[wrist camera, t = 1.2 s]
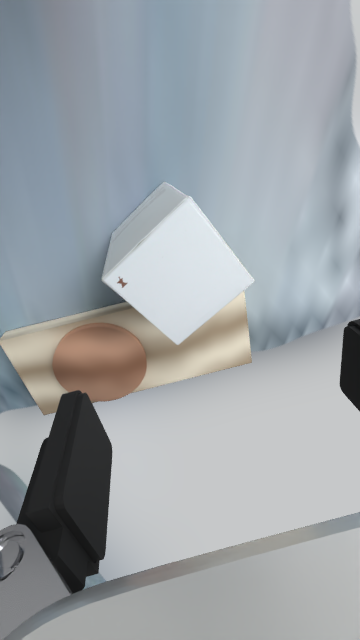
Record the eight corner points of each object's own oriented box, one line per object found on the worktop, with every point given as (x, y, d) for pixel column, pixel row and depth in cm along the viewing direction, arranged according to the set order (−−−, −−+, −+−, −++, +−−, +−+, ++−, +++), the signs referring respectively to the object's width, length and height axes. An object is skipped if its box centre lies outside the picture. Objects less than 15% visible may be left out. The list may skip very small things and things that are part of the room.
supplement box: (160, 284, 33) (175, 350, 22) (109, 233, 29) (95, 279, 18) (214, 237, 31) (259, 283, 20) (165, 177, 28) (187, 192, 17)
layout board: (5, 331, 33) (-6, 346, 30) (237, 274, 33) (246, 284, 31) (47, 403, 38) (41, 421, 35) (246, 353, 39) (254, 367, 36)
